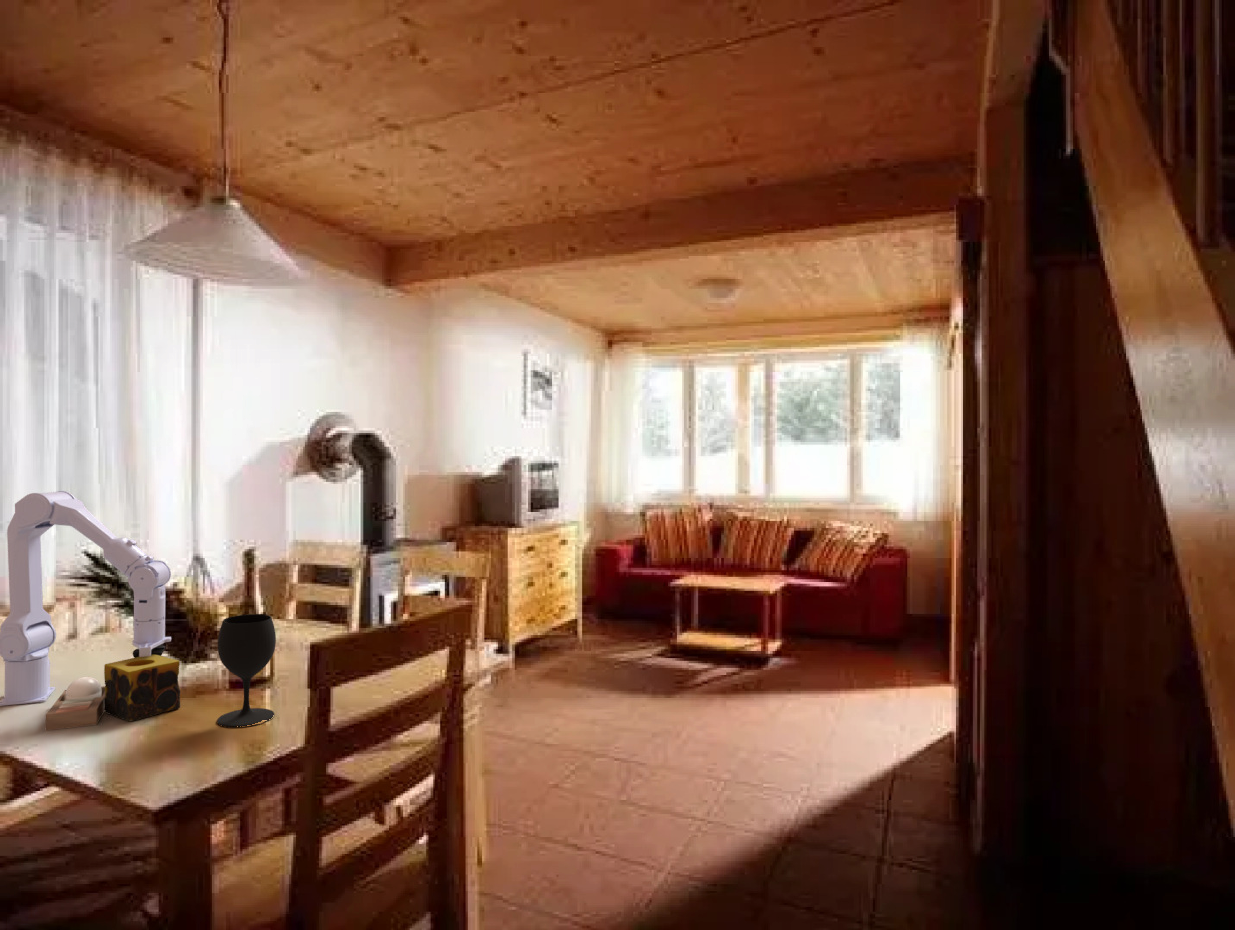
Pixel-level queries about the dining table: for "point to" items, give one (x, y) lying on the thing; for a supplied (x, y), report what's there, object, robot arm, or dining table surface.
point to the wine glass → (246, 660)
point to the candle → (141, 687)
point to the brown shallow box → (75, 712)
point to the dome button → (84, 689)
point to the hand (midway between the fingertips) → (148, 682)
